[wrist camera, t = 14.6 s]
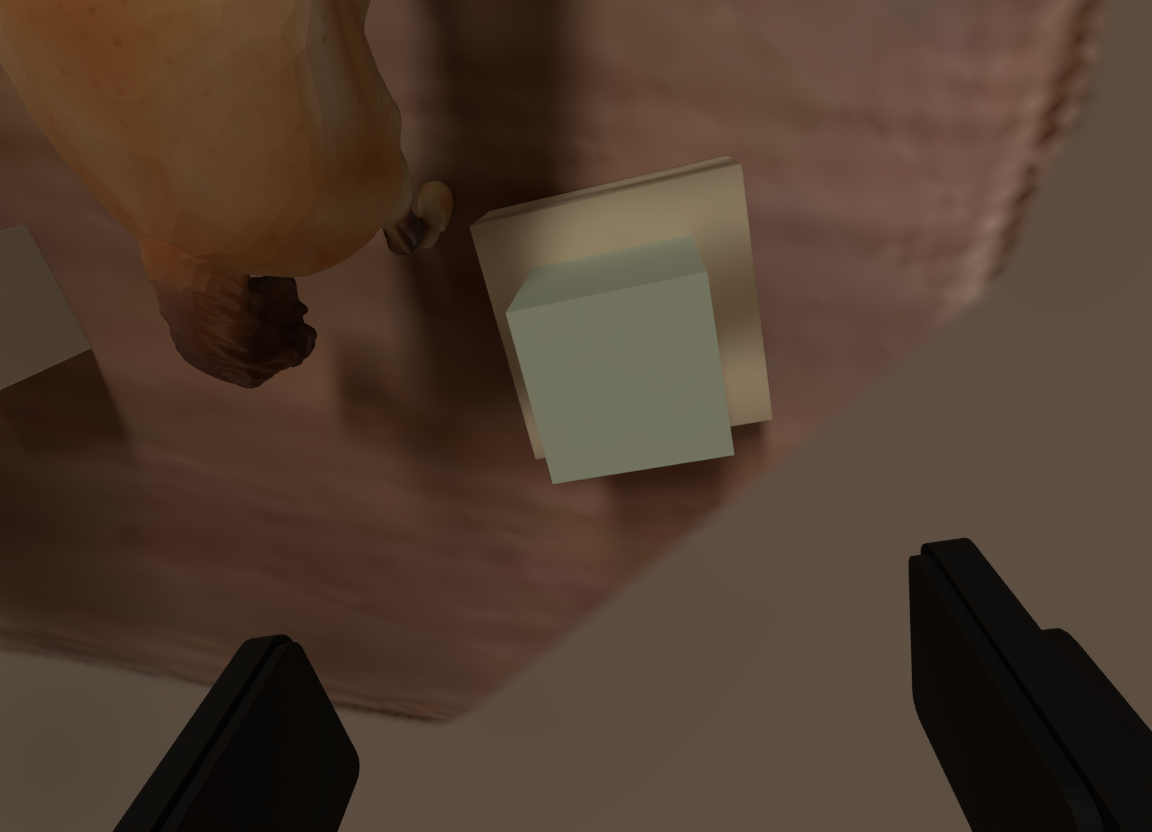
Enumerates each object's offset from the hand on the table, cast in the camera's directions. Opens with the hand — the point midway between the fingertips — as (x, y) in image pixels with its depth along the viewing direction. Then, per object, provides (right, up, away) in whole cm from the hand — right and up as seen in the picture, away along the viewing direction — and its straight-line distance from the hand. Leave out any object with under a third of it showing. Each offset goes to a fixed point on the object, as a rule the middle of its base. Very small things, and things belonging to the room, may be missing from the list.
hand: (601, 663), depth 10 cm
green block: (+1, +7, +16) cm, 18 cm away
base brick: (+2, +9, +20) cm, 22 cm away
